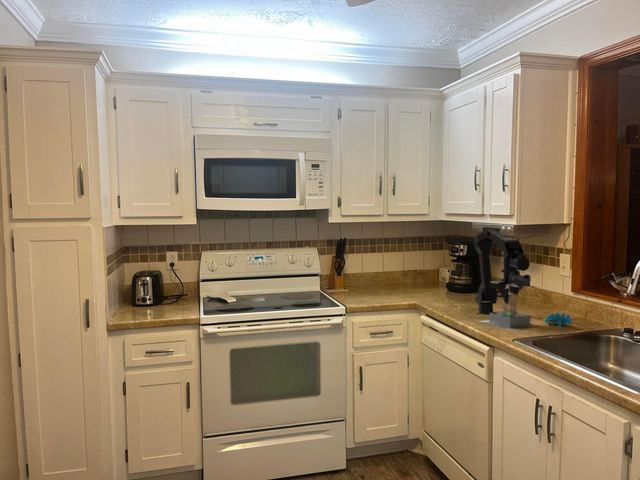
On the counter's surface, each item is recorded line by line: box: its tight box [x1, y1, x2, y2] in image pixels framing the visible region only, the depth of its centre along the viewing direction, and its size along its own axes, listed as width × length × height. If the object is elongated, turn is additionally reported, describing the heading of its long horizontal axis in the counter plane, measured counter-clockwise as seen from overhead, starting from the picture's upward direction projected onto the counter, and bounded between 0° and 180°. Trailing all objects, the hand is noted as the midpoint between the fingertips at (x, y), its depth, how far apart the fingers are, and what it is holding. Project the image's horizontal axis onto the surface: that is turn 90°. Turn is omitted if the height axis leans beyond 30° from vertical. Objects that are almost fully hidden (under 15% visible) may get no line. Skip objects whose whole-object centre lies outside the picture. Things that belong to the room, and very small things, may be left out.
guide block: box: [488, 310, 531, 329], centre depth 213 cm, size 12×12×5 cm
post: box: [502, 292, 518, 316], centre depth 213 cm, size 4×4×10 cm
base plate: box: [478, 319, 540, 332], centre depth 213 cm, size 20×18×1 cm
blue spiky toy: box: [543, 312, 573, 328], centre depth 209 cm, size 11×6×10 cm
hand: (509, 302), depth 213 cm, fingers closed on post, 4 cm apart
